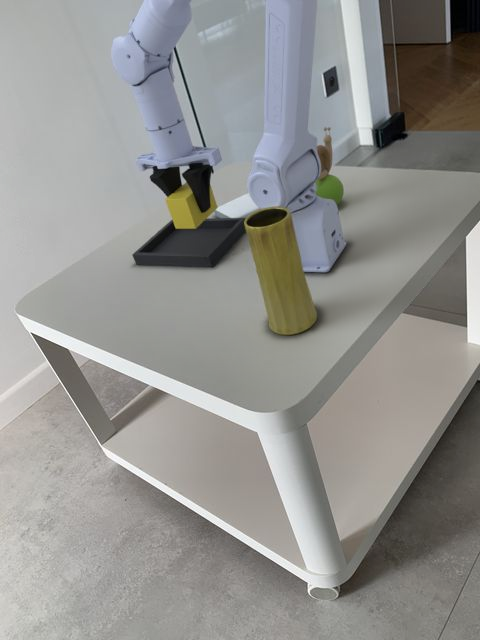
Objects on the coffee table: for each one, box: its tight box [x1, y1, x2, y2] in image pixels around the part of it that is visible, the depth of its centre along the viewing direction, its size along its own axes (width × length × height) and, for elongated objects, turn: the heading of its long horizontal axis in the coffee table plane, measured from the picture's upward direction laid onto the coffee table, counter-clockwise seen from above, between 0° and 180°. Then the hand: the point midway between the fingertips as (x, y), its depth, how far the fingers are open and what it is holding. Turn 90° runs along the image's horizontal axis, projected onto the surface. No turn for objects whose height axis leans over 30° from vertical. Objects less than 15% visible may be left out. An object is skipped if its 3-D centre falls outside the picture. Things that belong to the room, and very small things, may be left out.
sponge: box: [164, 181, 219, 229], centre depth 87 cm, size 4×7×5 cm, turn 154°
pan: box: [131, 217, 246, 268], centre depth 93 cm, size 16×13×2 cm
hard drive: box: [213, 192, 260, 218], centre depth 100 cm, size 2×8×12 cm
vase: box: [244, 206, 318, 336], centre depth 65 cm, size 6×6×14 cm
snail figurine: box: [316, 126, 345, 205], centre depth 90 cm, size 5×6×12 cm
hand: (194, 210), depth 88 cm, fingers closed on sponge, 4 cm apart
